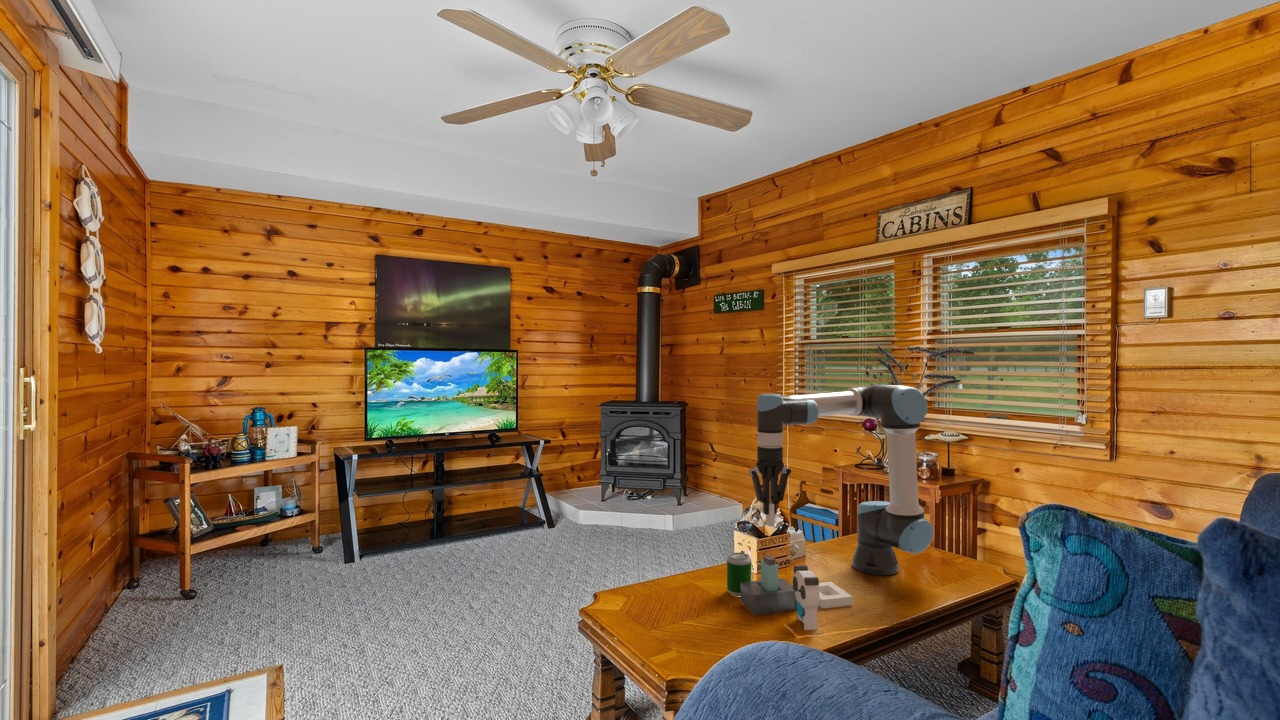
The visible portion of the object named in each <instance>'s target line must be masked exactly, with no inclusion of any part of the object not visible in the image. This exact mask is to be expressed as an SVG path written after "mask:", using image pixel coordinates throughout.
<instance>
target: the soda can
mask: <svg viewBox="0 0 1280 720" xmlns="http://www.w3.org/2000/svg"><path fill="white" fill-rule="evenodd" d="M748 581H752V558H751V557H750V556H749V555H748V553H743V552H733V553H730V554H729V556H728V557H726V590H727V592H728V594H729V595H730V594H732V595H735V596H741V582H748ZM732 595H731V596H732Z"/></svg>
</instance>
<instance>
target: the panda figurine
mask: <svg viewBox="0 0 1280 720" xmlns="http://www.w3.org/2000/svg"><path fill="white" fill-rule="evenodd" d="M793 574H794V576H793V578H792V586H793V589H794V591H795V596H796V600H795V608H796V610H795V611H796V621H801V622H802V624H803V630H804V631H808V630H809V631H812V630H813V631H814V630H818V608H819V607H820V606H819V586H818V585H819V583H820V580H819V577H817V576H816V574H815V573H814V572H813V571H812V570H809V568H808V565H794V566H793ZM796 602H797V603H796ZM785 625H786V626H785V627H787V628H788V629H789V631H792V632H794V630H793V629H792V628H791V627H790V626H789V625H787V623H786V624H785ZM823 634H825V632H820V633H819V632H818V633H811V634H808V636H819V635H823Z"/></svg>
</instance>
